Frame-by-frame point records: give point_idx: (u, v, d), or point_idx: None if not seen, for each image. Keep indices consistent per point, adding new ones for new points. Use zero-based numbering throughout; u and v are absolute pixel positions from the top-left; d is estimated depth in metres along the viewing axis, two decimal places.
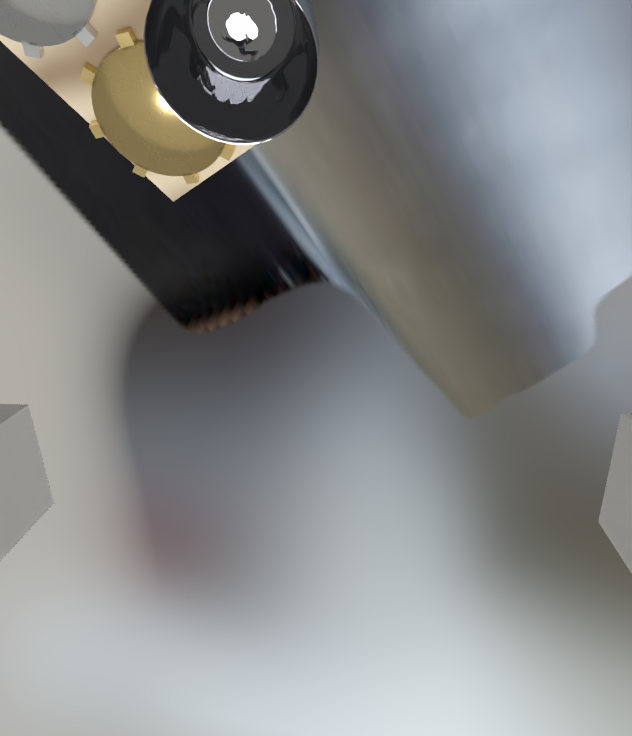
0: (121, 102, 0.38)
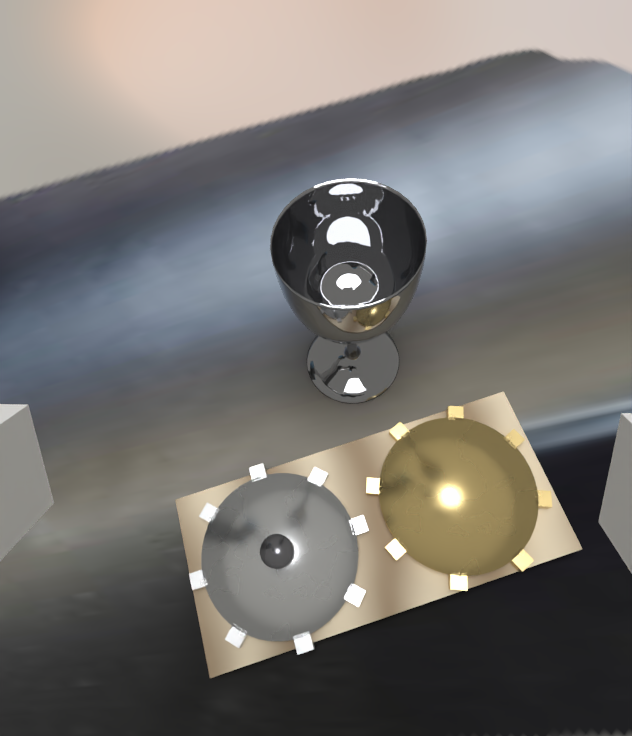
0: (431, 528, 0.32)
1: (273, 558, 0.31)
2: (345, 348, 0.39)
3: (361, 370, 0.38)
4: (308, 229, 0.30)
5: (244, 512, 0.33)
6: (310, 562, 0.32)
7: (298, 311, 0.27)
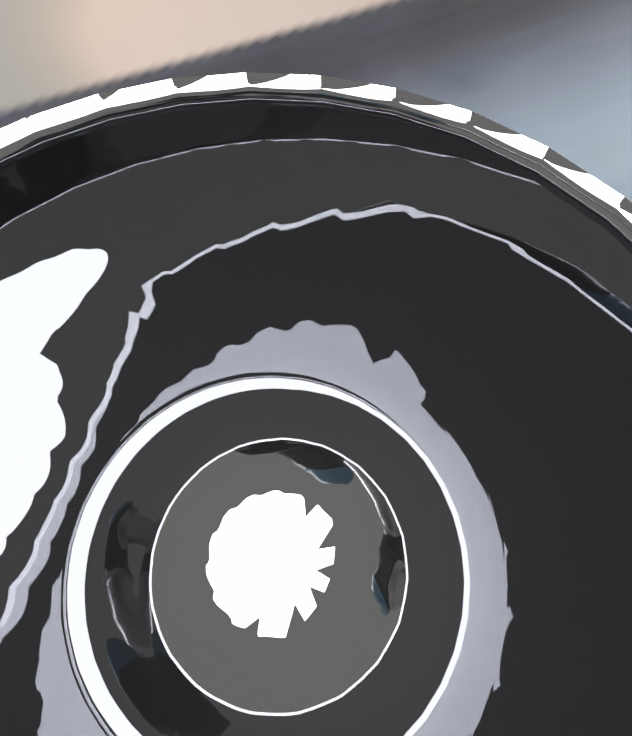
0: None
1: None
2: None
3: None
4: (102, 323, 0.07)
5: None
6: None
7: None
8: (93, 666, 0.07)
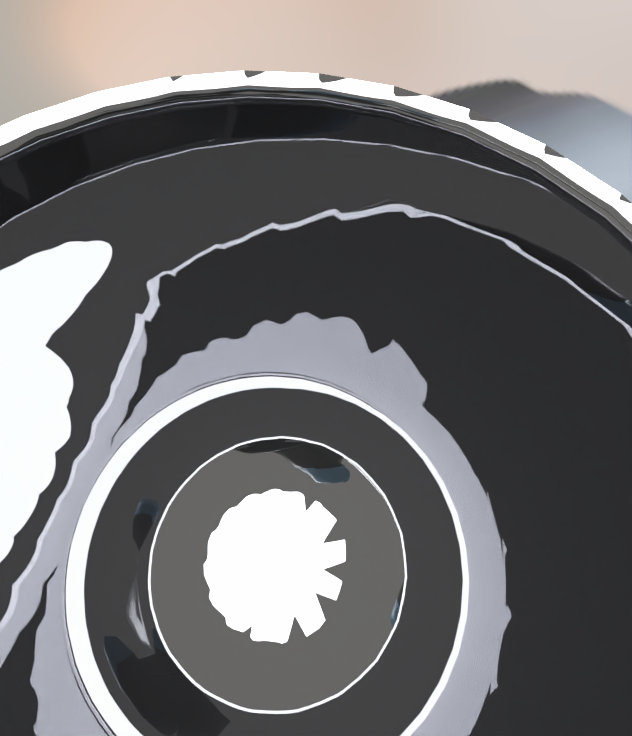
0: None
1: None
2: None
3: None
4: (101, 321, 0.07)
5: None
6: None
7: None
8: (92, 664, 0.07)
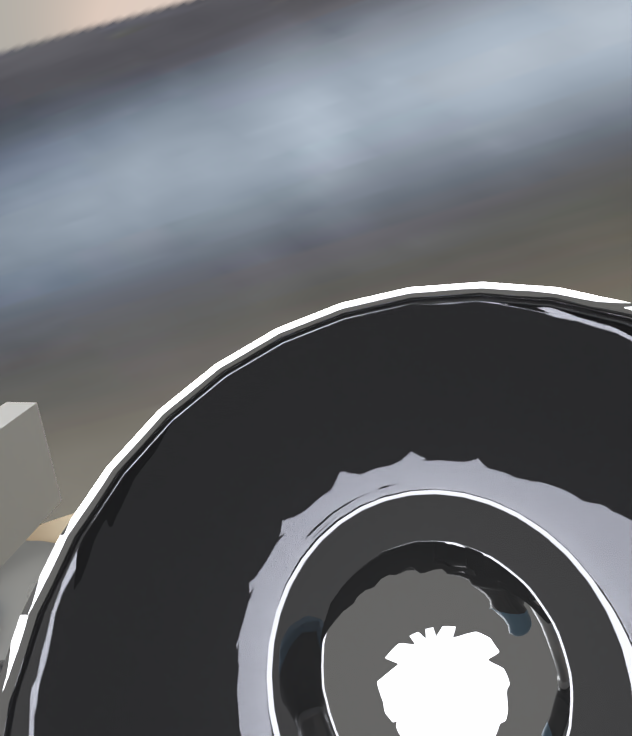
0: None
1: None
2: None
3: None
4: (274, 448, 0.08)
5: None
6: None
7: None
8: None
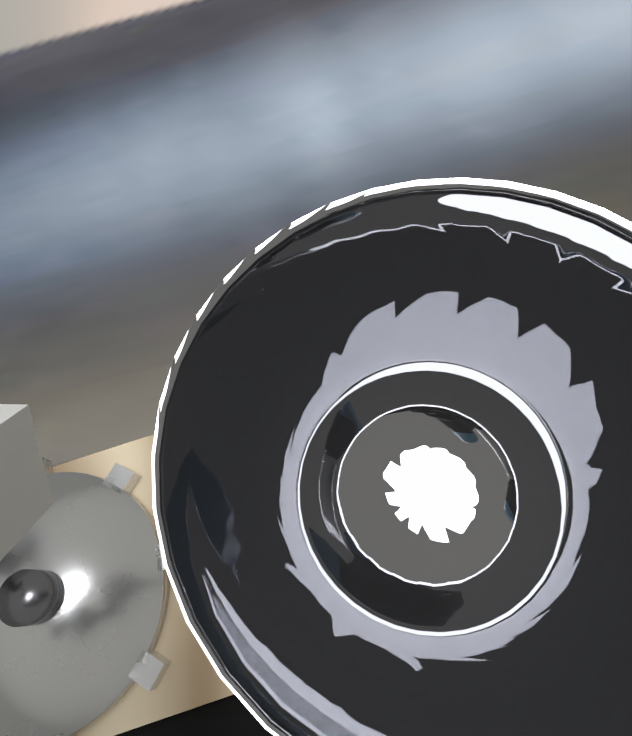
0: None
1: (15, 610, 0.19)
2: None
3: None
4: (310, 322, 0.10)
5: None
6: (85, 614, 0.20)
7: None
8: (296, 558, 0.11)
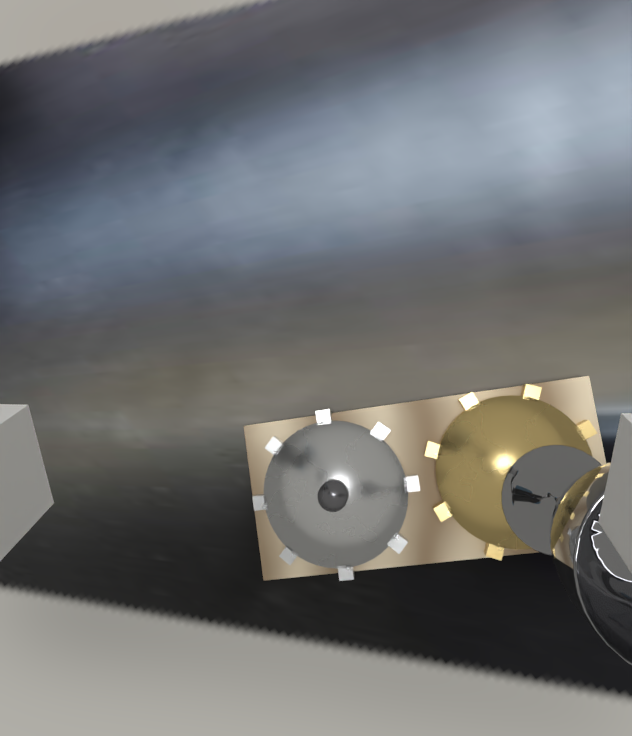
0: (480, 500, 0.34)
1: (329, 502, 0.34)
2: (556, 493, 0.32)
3: None
4: (605, 465, 0.22)
5: (306, 452, 0.36)
6: (361, 508, 0.35)
7: None
8: None
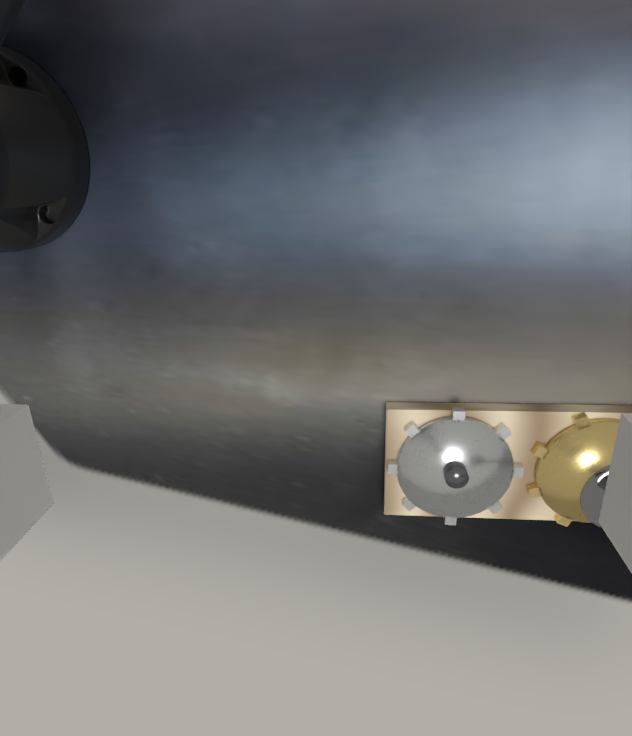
0: (566, 489, 0.45)
1: (453, 482, 0.44)
2: None
3: None
4: None
5: (439, 440, 0.44)
6: (473, 483, 0.45)
7: None
8: None
